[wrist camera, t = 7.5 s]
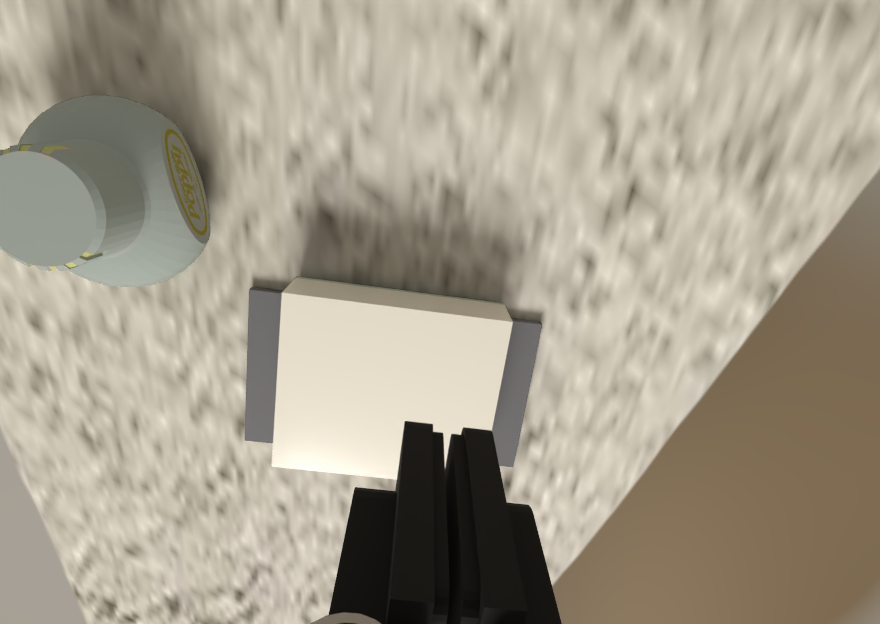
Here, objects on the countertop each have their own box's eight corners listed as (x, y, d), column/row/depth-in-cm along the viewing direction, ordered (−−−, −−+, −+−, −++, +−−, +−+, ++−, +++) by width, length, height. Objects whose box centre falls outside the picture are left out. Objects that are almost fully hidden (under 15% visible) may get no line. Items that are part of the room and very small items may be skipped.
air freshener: (47, 112, 33) (-107, 101, 23) (179, 88, 32) (79, 66, 23) (111, 283, 36) (-1, 335, 26) (231, 262, 36) (162, 306, 26)
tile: (281, 292, 32) (271, 466, 35) (513, 322, 33) (480, 488, 36) (296, 276, 36) (286, 434, 39) (503, 303, 37) (474, 455, 40)
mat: (252, 287, 36) (249, 289, 36) (540, 321, 38) (542, 324, 37) (247, 436, 40) (244, 440, 39) (511, 462, 41) (513, 467, 41)
